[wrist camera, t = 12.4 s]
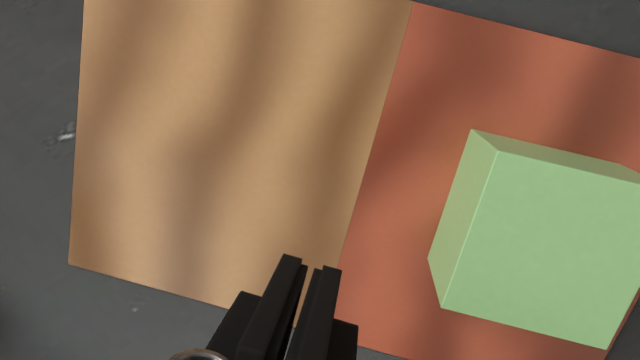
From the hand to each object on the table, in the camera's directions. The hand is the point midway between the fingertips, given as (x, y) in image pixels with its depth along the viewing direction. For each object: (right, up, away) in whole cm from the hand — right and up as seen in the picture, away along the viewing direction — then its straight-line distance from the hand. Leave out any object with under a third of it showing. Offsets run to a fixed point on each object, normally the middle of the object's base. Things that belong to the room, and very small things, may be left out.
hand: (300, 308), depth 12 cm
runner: (+3, +3, +10) cm, 11 cm away
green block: (+10, +2, +9) cm, 14 cm away
